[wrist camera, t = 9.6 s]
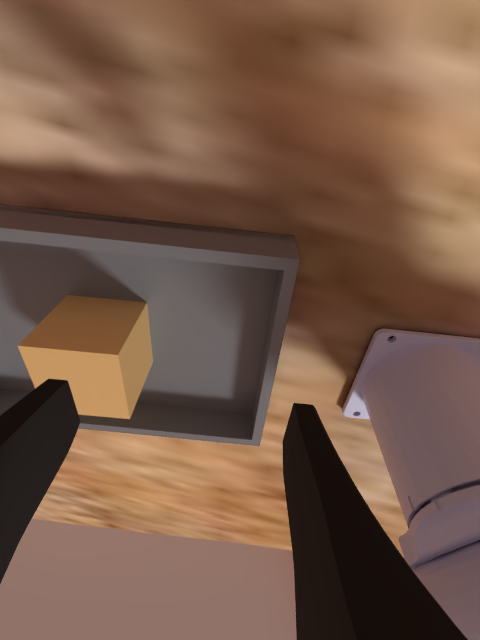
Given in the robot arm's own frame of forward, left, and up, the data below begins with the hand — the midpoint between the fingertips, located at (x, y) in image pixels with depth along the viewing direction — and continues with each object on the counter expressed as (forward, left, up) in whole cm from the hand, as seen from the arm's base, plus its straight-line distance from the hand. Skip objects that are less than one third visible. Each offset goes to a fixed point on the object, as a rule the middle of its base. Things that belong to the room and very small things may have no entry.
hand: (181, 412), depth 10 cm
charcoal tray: (+6, +4, -9) cm, 12 cm away
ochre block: (+6, +4, -9) cm, 11 cm away
